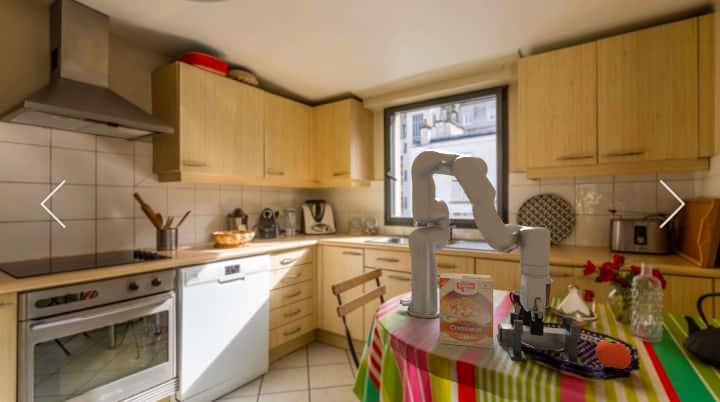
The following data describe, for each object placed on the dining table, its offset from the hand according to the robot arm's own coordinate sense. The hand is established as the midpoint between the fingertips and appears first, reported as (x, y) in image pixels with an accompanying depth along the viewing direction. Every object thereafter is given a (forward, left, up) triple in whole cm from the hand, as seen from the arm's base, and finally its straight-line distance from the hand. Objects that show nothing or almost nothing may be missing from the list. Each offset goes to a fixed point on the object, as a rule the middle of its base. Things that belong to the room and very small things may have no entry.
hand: (532, 327), depth 95 cm
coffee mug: (+2, +18, -5) cm, 19 cm away
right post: (+7, -9, -5) cm, 12 cm away
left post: (-6, -9, -5) cm, 11 cm away
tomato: (+16, -10, -5) cm, 19 cm away
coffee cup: (+11, +37, -5) cm, 39 cm away
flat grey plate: (+1, 0, -5) cm, 5 cm away
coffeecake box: (-19, -3, -5) cm, 20 cm away
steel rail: (+1, 0, -4) cm, 4 cm away
